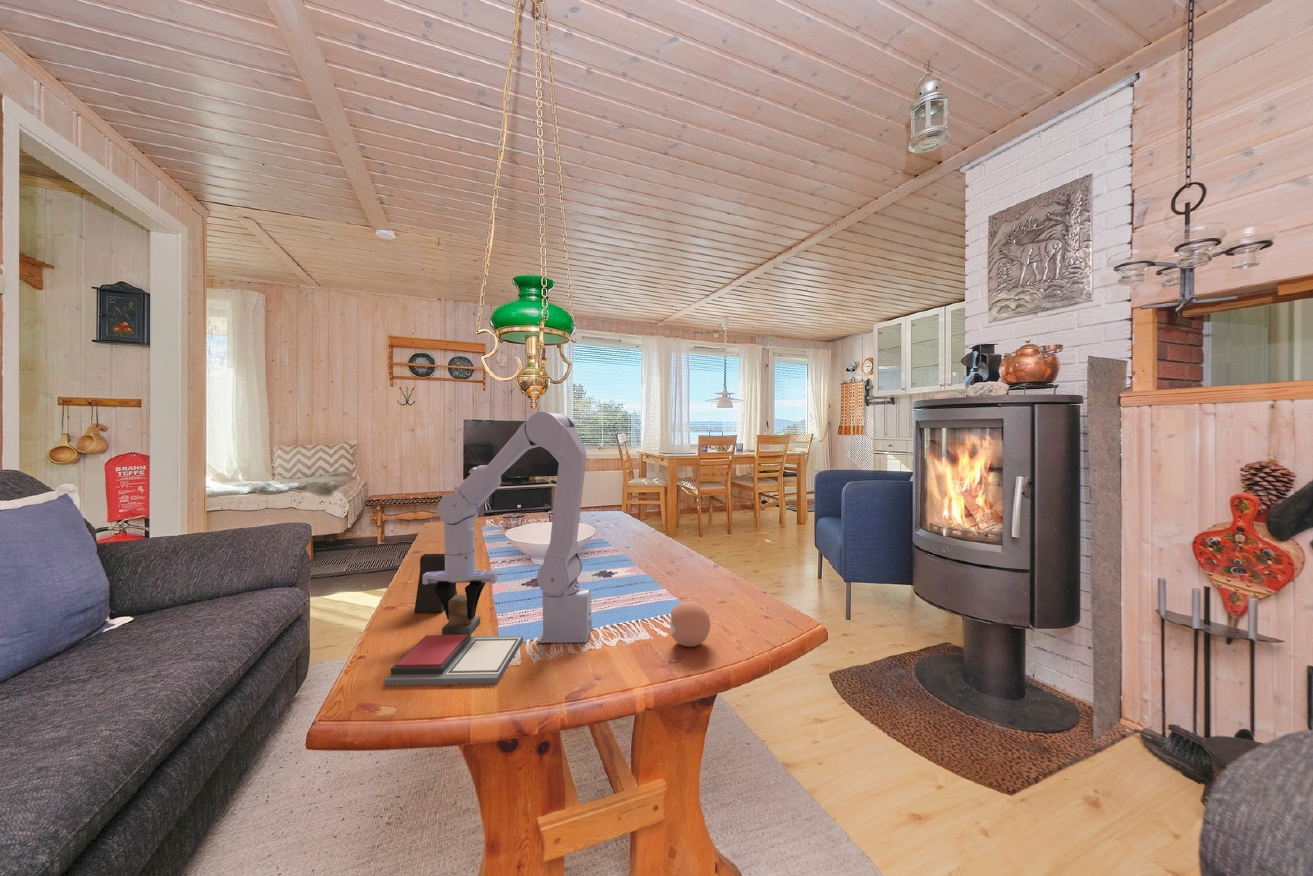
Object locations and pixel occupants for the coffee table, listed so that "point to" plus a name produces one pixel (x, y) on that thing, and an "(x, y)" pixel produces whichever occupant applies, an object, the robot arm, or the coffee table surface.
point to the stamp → (459, 617)
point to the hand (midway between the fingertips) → (461, 617)
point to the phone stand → (429, 585)
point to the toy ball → (689, 624)
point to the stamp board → (455, 660)
